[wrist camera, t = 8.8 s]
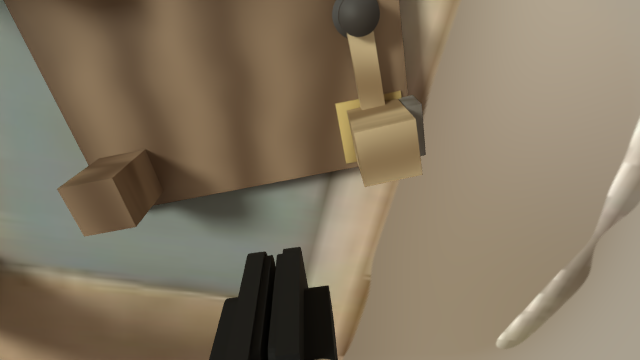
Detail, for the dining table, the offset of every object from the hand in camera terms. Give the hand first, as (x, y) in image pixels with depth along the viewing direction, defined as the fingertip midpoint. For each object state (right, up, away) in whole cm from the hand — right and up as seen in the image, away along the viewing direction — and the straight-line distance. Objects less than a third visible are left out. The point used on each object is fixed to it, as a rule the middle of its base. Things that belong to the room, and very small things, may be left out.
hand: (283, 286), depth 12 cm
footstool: (-6, +13, +14) cm, 20 cm away
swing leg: (+4, +10, +13) cm, 17 cm away
